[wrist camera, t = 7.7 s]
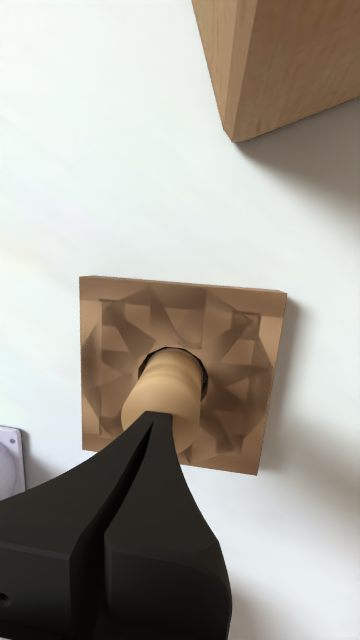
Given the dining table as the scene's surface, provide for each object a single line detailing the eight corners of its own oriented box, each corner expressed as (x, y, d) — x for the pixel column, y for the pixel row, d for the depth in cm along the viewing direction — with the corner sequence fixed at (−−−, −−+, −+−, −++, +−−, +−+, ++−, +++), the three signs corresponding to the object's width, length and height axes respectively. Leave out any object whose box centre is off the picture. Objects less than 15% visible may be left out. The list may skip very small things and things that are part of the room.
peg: (204, 389, 19) (202, 459, 12) (152, 388, 19) (122, 455, 12) (203, 338, 18) (200, 383, 11) (149, 339, 18) (115, 382, 12)
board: (252, 454, 19) (257, 475, 18) (94, 432, 21) (82, 449, 19) (278, 290, 17) (287, 293, 15) (93, 275, 18) (79, 276, 16)
